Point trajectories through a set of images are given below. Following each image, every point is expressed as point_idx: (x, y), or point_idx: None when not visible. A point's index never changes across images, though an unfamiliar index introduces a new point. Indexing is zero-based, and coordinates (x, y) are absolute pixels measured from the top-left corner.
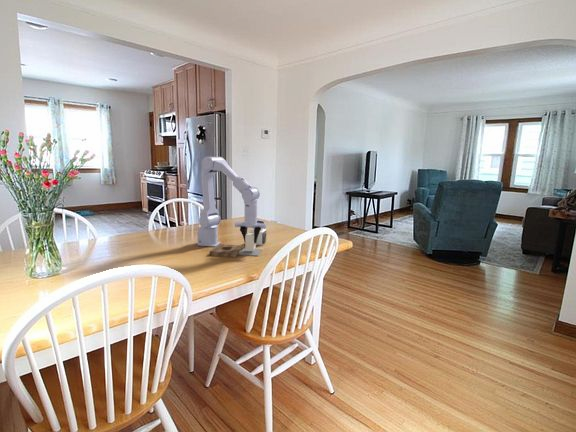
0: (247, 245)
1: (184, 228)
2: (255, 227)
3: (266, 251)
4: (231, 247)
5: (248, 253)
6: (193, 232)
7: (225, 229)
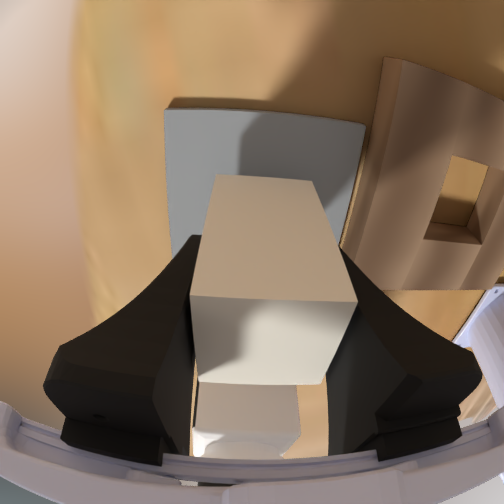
0: (293, 201)
1: (495, 407)
2: (151, 457)
3: (132, 247)
4: (431, 238)
5: (269, 144)
6: (490, 395)
7: None
